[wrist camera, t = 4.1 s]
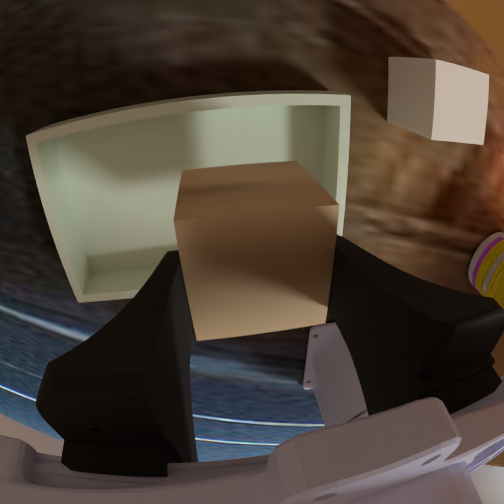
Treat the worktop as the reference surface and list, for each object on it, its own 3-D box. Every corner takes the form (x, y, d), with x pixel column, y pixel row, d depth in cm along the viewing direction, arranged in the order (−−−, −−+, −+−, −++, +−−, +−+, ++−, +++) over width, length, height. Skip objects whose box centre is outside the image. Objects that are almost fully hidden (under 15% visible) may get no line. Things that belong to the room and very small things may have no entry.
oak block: (294, 256, 16) (325, 323, 12) (195, 267, 16) (196, 340, 12) (296, 160, 14) (339, 204, 10) (182, 170, 13) (173, 220, 9)
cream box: (436, 125, 19) (483, 145, 15) (386, 121, 19) (431, 139, 14) (439, 66, 17) (489, 75, 12) (387, 56, 16) (435, 59, 12)
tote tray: (323, 250, 23) (337, 274, 21) (89, 276, 21) (78, 302, 19) (329, 90, 17) (350, 95, 15) (48, 125, 15) (25, 135, 13)
